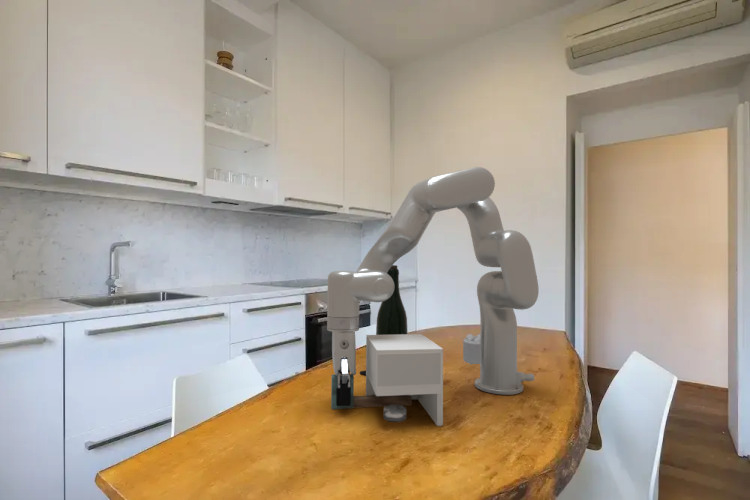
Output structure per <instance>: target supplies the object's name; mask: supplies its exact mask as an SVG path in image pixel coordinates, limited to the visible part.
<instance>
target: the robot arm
mask: <svg viewBox="0 0 750 500" xmlns="http://www.w3.org/2000/svg"><path fill="white" fill-rule="evenodd" d="M495 182H496V181H495V178H494V175H493V174H492V172H490V171H489V170H488V169H487V168H484V167H479V166H474V167H470V168H465V169H462V170H458V171H454V172H448V173H444V174H439V175H435V176H432V177H429V178H427V179H424V180H422V181H419V182H418V183H416V184H415V185H413V186H412V187H411V188H410V190H408V193H407V195H406V196H405V198H404V200H403V201H402V203H401V205H400V206H399V208H398V210H397V211H396V212H395V213H396V214H395V215H394V216H393V218H392V220H391V222H390V224H389V225H388V226H387V228H386V230H385V231H384V232H383V233H382V234H381V235H380V236H379V238H378V239H377V241H375V243H374V244H373V246H372V247H371V248H370V249H369V251H368V252H367V253H366V254H365V257H364V258H363V259H362V262H360V265H359V266H358V267H357V269H356V271H351V270H350V271H349V270H337V271H336V270H335V271H331V272H330V273H329V274H328V276H327V307H326V309H327V313H326V314H327V315H326V316H327V317H326V319H327V320H326V325H327V326H326V331H328V332H331V335H332V336H331V352H332V353H331V354H332V355H331V358H332V367H333V372H334V373H333V374H334V375H336V376H337V377H338V387H336V405H337V406H350V405H351V387H350V374H353V376H355V375H356V374H357V366H356V364H357V361H356V359H357V358H356V357H357V355H356V346H357V345H356V333H355V332H357V331H359V330H360V301H361V302H370V303H382V302H383V301H385V300H387V299H389V298H390V297H391V295H392V294H393V292H394V282H393V279H392V278H391V277H390V276H389V275H388V274H387V272H388V270H389V269H390V268H391V266H392V265H394V264H395V263H396V262H397V261H398V260H399V259H400V258H402V257H403V256H405V255H406V254H409V253H410V252H411V251H412V250H414V249H415V247H416V246H417V245H418V244H419V242H420V241H421V238H422V237H423V235H424V233H425V232H426V229H427V228H428V226H429V224H430V223H431V221H432V219H433V217H434V215H435V214H436V213H438V212H442V211H447V210H452V209H458V210H459V211H460V212H461V213H462V214H463V215H464V216H465V218H466V220H467V223H468V228H469V231H470V236H471V241H472V247H473V251H474V255H475V259H476V261H477V262H478V263H479V265H481V266H483V267H488V268H500V270H494V271H492V270H491V271H489V272H486V273H484V274H483V275H482V276H480V278H479V279H478V282H477V285H476V295H477V300H478V305H479V315H480V331H479V334H480V365H479V366H480V370H479V371H480V377H478V378H476V379H475V380H474V387H475V388H477V389H478V390H480V391H482V392H486V393H487V394H488V393H490V394H494V395H503V396H504V395H505V396H507V395H508V396H509V395H510V396H511V395H517V394H518V395H519V394H520V393H522V392H524V385H523V384H522V383H524V382H525V381H526V382H534V381H535V375H534V374H533V373H525V372H524V371H523V372H522V371H519V370H518V324H517V316H516V314H515V310H521V311H523V310H528V309H530V308H532V307H533V306H534V305H535V303H536V302H537V301H538V297H539V282H538V275H537V270H536V266H535V259H534V255H533V250H532V246H531V244H530V242H529V240H528V239H527V237H525V235H524V234H523V233H521V232H519V231H517V230H512V229H511V230H509V229H508V230H504V226H503V224H502V223H503V222H502V219H501V215H500V211H499V209H498V207H497V205H496V204H495V202H494V201H493V200H492V199H491V197H490V196H492V194H493V193H494V191H495V186H496V185H495V184H496V183H495ZM340 377H342V378H341V379H340Z"/></svg>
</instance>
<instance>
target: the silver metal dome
mask: <svg viewBox="0 0 750 500" xmlns="http://www.w3.org/2000/svg"><path fill="white" fill-rule="evenodd" d="M383 419H384V420H385V421H386V422H391V423H402V422H405V421H406V420H407V407H406V406H405V405H402V406H401V405H395V404H393V405H387V406H383Z"/></svg>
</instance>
